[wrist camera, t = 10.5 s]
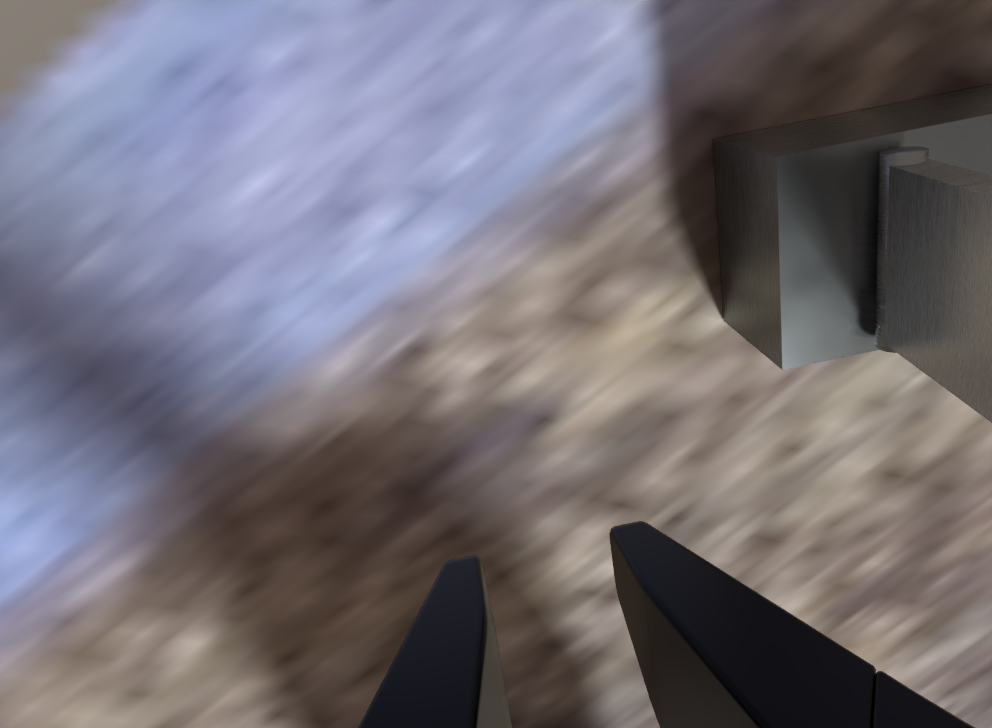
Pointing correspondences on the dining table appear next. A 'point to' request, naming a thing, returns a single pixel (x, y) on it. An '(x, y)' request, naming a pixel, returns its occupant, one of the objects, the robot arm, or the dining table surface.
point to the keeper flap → (936, 271)
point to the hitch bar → (824, 218)
